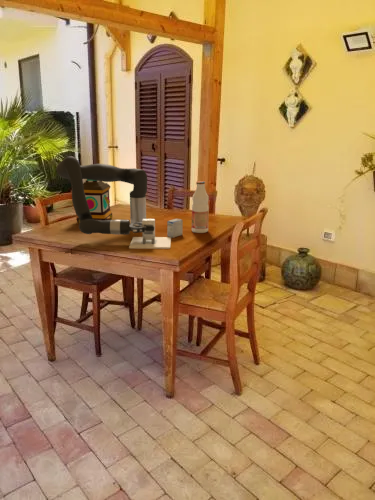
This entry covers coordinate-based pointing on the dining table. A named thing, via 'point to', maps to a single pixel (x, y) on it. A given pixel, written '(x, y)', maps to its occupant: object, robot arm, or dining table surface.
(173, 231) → the medicine box
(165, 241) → the pin tray
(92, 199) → the decorative lantern
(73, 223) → the dining table surface
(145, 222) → the drive
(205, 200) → the fruit juice
